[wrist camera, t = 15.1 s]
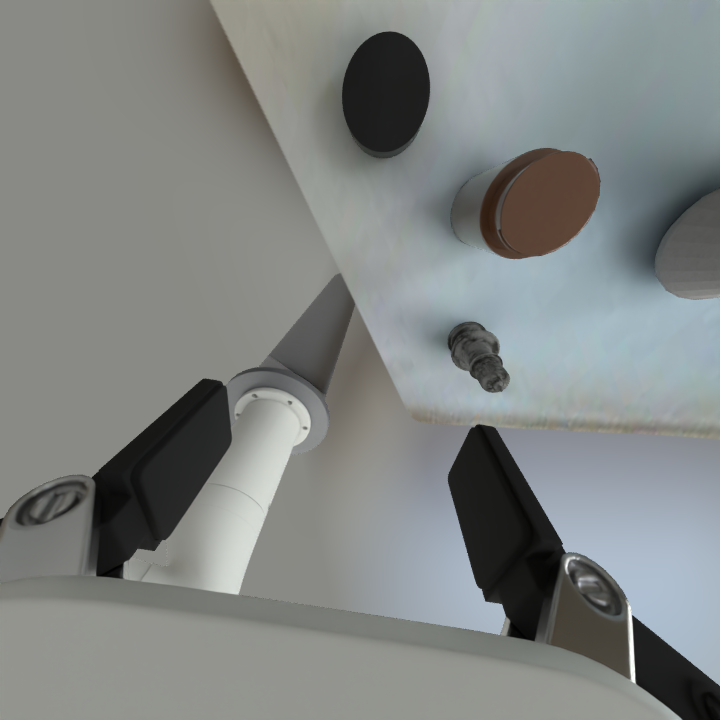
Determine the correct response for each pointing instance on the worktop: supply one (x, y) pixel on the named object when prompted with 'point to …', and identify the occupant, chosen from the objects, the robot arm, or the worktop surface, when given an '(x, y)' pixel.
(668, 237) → the coffee pot
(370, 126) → the jar lid
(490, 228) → the jar
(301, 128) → the worktop surface
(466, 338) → the grey stepped cylinder
